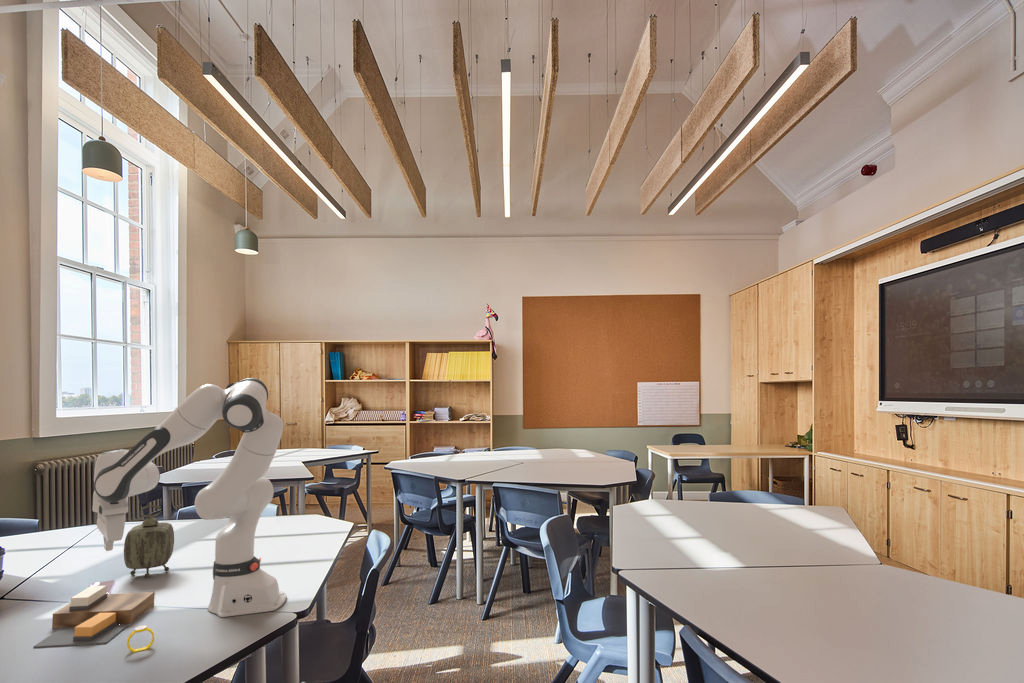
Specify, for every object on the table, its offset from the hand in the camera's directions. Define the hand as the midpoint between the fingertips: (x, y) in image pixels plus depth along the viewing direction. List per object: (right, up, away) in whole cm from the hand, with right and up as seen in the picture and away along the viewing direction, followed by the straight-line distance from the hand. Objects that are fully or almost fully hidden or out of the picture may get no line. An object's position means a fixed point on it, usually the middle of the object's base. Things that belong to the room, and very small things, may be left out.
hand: (108, 549), depth 175 cm
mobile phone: (-17, -22, +21) cm, 34 cm away
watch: (+24, -19, -22) cm, 38 cm away
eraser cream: (-5, -16, -2) cm, 16 cm away
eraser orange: (+6, -19, -13) cm, 23 cm away
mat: (+3, -19, -14) cm, 24 cm away
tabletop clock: (-9, -22, +34) cm, 41 cm away
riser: (0, -20, -1) cm, 20 cm away
